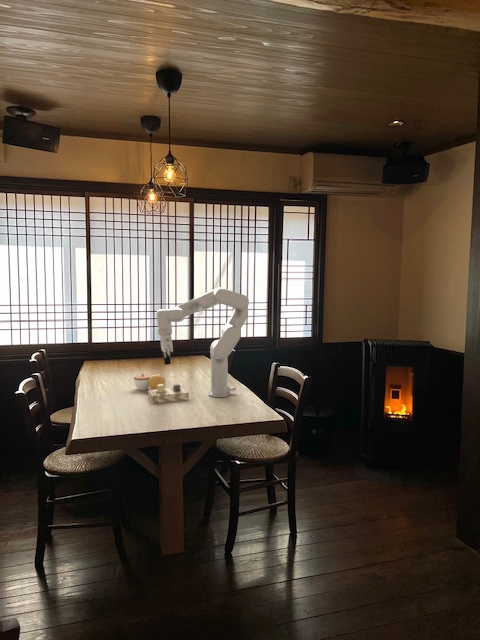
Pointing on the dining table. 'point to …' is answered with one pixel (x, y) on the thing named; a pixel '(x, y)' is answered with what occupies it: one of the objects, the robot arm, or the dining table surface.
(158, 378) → the stress ball
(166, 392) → the jig
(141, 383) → the lidded jar
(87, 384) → the dining table surface
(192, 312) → the robot arm
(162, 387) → the brass cylinder
